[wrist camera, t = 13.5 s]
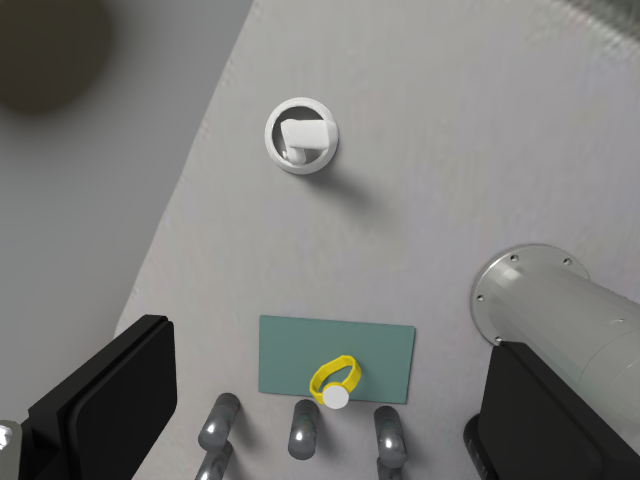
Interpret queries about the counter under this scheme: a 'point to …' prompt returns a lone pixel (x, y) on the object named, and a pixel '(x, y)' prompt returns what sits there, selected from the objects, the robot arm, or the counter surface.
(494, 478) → the supplement bottle
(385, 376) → the mat
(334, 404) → the watch
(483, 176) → the counter surface
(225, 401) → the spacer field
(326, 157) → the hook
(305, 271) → the counter surface
